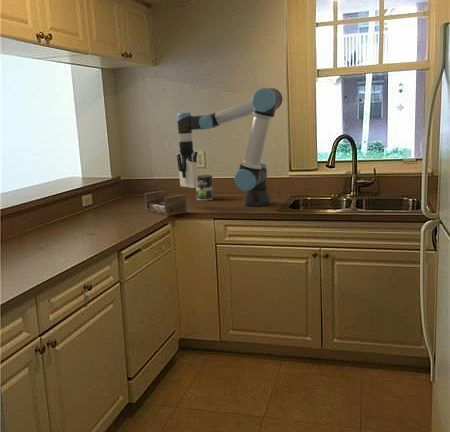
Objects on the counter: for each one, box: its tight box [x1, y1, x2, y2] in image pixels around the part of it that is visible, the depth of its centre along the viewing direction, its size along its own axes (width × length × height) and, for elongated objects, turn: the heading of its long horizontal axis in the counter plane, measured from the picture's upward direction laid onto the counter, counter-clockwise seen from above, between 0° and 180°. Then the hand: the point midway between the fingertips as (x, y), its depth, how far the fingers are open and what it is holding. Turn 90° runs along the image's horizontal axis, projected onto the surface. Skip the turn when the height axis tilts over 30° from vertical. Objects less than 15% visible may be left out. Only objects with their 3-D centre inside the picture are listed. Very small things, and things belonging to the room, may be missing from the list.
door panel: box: [178, 160, 198, 189], centre depth 295 cm, size 14×3×14 cm, turn 36°
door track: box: [143, 190, 187, 217], centre depth 289 cm, size 24×12×10 cm, turn 36°
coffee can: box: [195, 174, 214, 201], centre depth 320 cm, size 10×10×14 cm
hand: (188, 182), depth 296 cm, fingers closed on door panel, 3 cm apart
